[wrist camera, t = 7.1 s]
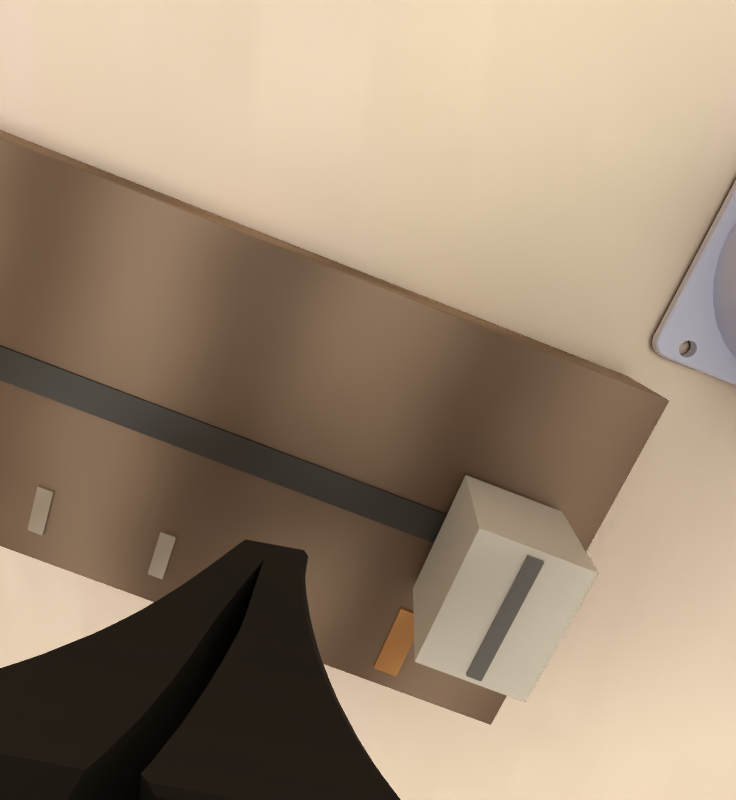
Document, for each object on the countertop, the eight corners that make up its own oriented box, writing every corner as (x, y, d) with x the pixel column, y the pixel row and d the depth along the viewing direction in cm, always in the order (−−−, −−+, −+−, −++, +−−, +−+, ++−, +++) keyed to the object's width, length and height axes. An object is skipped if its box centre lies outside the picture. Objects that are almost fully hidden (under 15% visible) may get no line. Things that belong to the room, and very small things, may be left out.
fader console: (628, 376, 19) (671, 402, 16) (479, 661, 22) (491, 727, 19) (-16, 124, 18) (-100, 99, 15) (-74, 457, 21) (-153, 493, 18)
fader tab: (561, 511, 17) (599, 575, 13) (503, 622, 18) (525, 705, 14) (465, 474, 16) (480, 529, 13) (413, 588, 17) (414, 664, 14)
